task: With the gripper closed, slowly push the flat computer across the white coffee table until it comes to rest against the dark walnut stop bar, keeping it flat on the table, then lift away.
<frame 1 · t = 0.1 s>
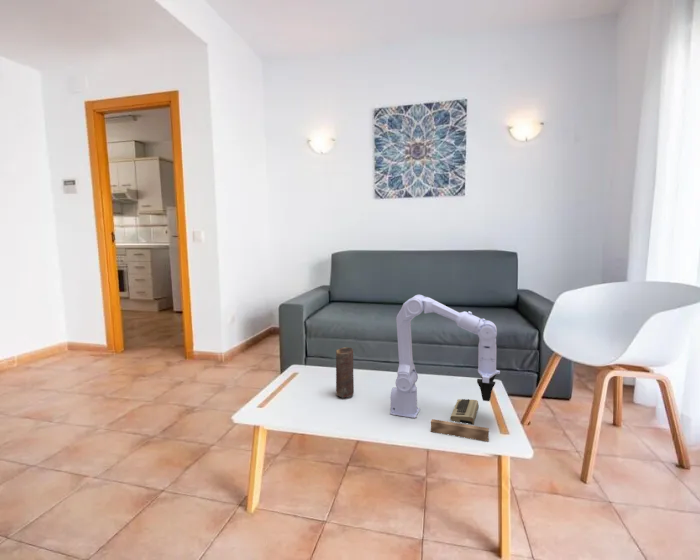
hand: (486, 396, 128), 10 cm above the table, tool pointing down, fingers open, 7 cm apart
stop bar: (459, 435, 122), on the table
computer: (464, 415, 138), on the table
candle: (345, 396, 156), on the table
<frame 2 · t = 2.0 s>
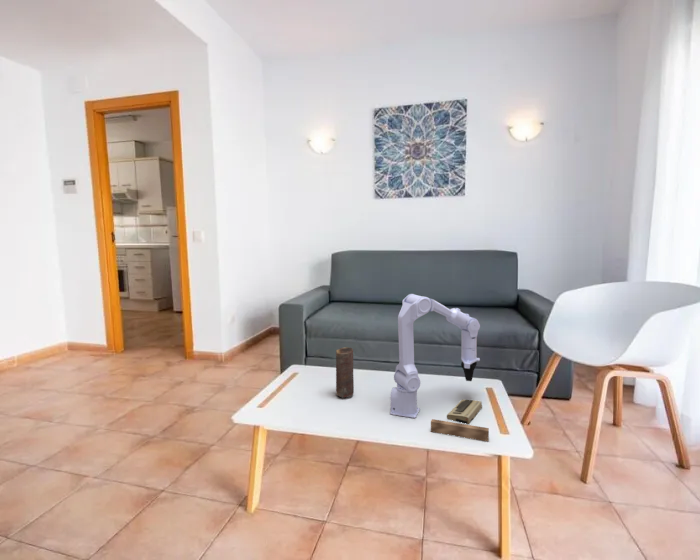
hand: (468, 380, 149), 8 cm above the table, tool pointing down, fingers closed
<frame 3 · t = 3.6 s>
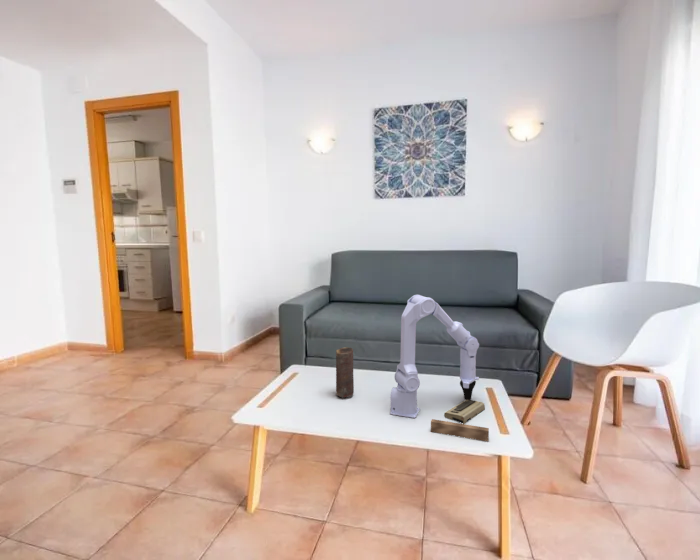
hand: (467, 399, 146), 1 cm above the table, tool pointing down, fingers closed
computer: (464, 414, 138), on the table, touching gripper
everything else where it was.
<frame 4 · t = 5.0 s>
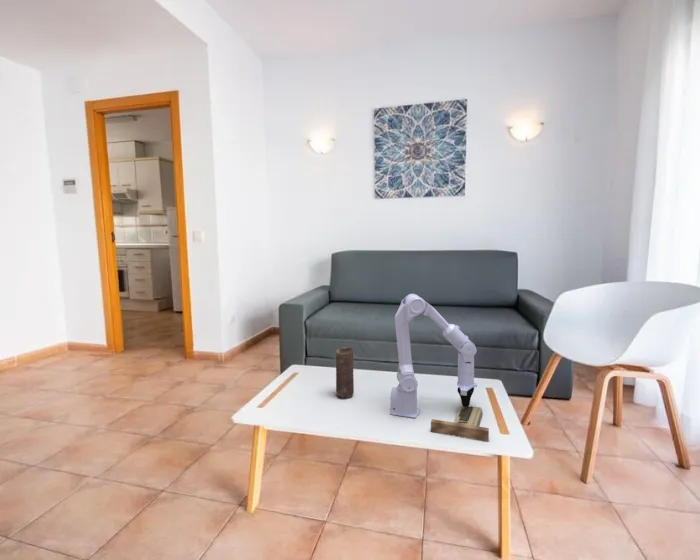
hand: (465, 406, 140), 1 cm above the table, tool pointing down, fingers closed
computer: (467, 423, 131), on the table, touching gripper
everything else where it was.
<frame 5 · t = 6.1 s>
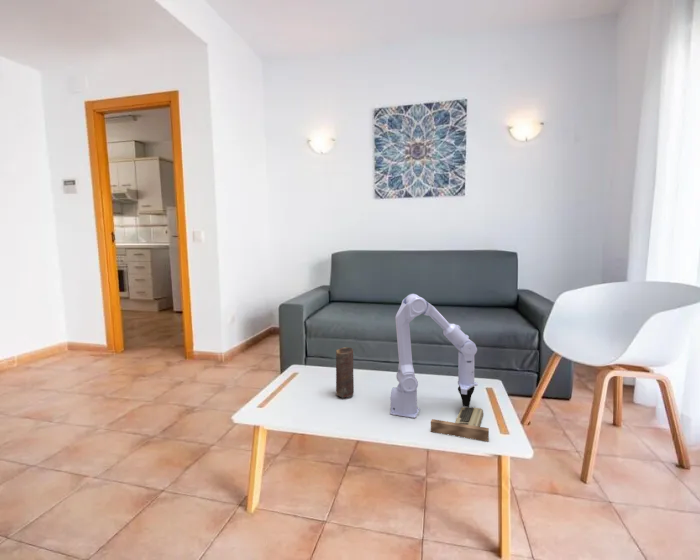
hand: (466, 405, 140), 1 cm above the table, tool pointing down, fingers closed
computer: (468, 424, 130), on the table
everything else where it was.
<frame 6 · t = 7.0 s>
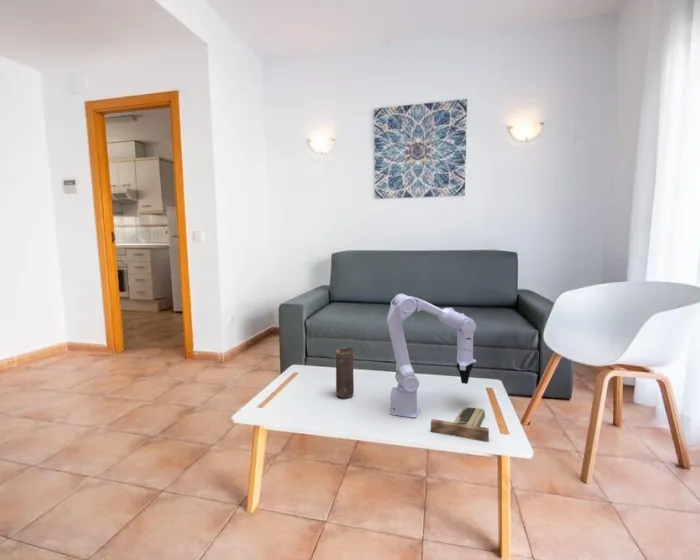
hand: (464, 382, 142), 9 cm above the table, tool pointing down, fingers closed
nothing on the table moved.
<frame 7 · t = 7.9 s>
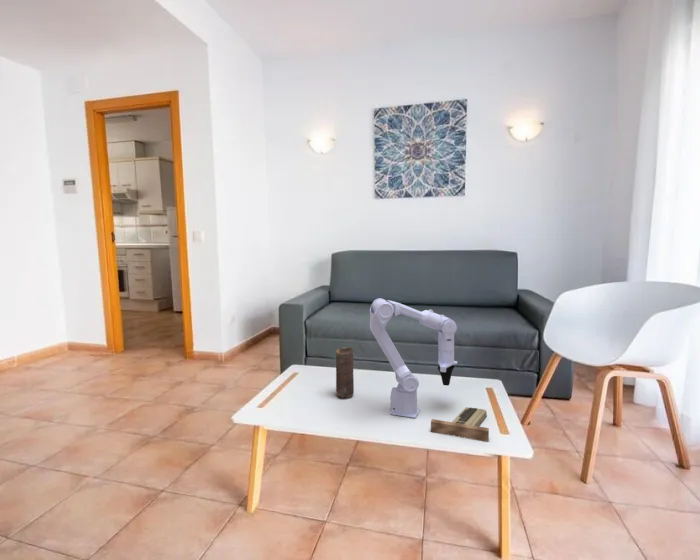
hand: (446, 384, 141), 9 cm above the table, tool pointing down, fingers closed
nothing on the table moved.
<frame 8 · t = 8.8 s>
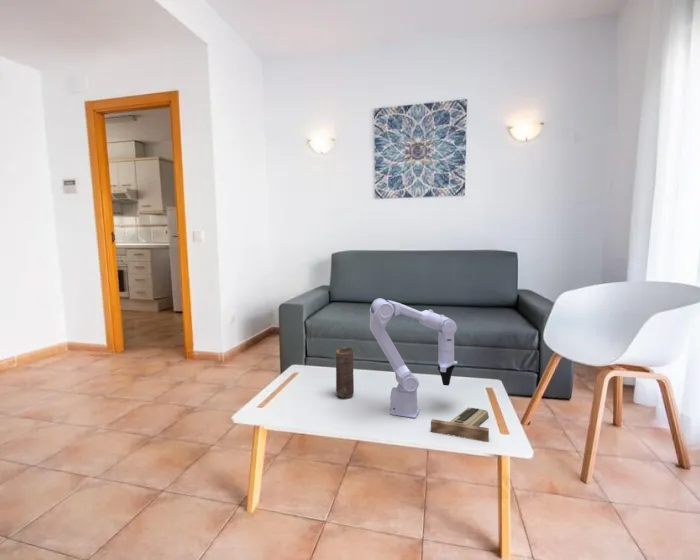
hand: (446, 384, 141), 9 cm above the table, tool pointing down, fingers closed
at the end: computer 2.2 cm from the target spot, on the table; computer tilted 0°; computer moved 7.0 cm from its start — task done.
